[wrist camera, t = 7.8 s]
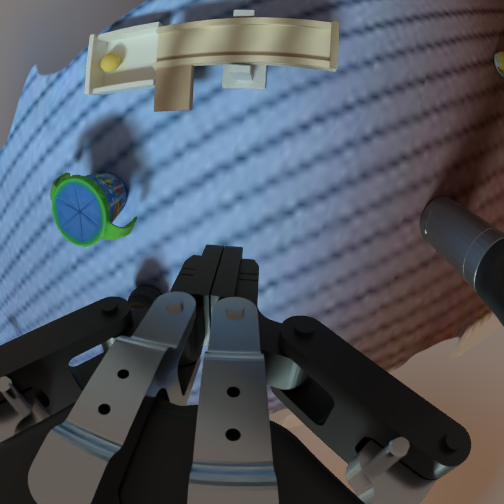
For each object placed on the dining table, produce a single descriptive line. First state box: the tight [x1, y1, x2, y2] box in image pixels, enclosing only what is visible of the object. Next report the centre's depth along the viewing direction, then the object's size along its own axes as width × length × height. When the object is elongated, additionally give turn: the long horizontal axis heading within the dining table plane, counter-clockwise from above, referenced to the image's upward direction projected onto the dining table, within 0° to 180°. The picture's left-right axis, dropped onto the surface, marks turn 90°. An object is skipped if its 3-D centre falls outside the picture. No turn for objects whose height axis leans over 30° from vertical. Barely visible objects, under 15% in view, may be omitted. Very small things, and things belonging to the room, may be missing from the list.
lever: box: [153, 17, 339, 112], centre depth 27 cm, size 22×12×3 cm, turn 86°
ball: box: [101, 53, 121, 72], centre depth 30 cm, size 3×3×3 cm
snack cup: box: [50, 173, 137, 247], centre depth 38 cm, size 16×10×10 cm
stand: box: [222, 10, 267, 90], centre depth 29 cm, size 6×11×8 cm, turn 176°
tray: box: [85, 22, 164, 95], centre depth 30 cm, size 11×10×5 cm
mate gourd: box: [128, 285, 162, 310], centre depth 47 cm, size 7×8×10 cm
